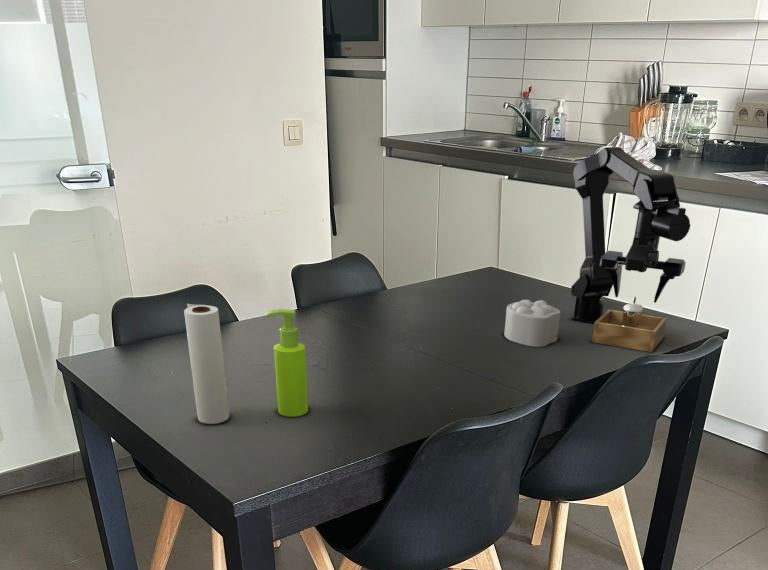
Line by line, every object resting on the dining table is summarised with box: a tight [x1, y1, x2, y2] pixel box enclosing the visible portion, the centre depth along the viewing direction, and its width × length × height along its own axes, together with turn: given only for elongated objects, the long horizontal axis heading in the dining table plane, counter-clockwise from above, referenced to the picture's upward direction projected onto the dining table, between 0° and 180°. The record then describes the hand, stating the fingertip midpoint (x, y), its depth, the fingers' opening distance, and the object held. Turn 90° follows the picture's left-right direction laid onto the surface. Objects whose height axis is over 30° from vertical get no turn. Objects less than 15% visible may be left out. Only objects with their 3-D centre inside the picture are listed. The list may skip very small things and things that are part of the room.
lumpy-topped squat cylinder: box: [503, 299, 561, 348], centre depth 190 cm, size 10×13×9 cm
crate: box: [591, 309, 668, 353], centre depth 190 cm, size 15×13×5 cm
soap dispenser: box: [265, 308, 309, 418], centre depth 147 cm, size 6×7×20 cm
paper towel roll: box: [183, 303, 230, 425], centre depth 144 cm, size 7×6×21 cm
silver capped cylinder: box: [622, 296, 644, 328], centre depth 189 cm, size 4×5×10 cm
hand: (635, 299), depth 187 cm, fingers open, 9 cm apart
